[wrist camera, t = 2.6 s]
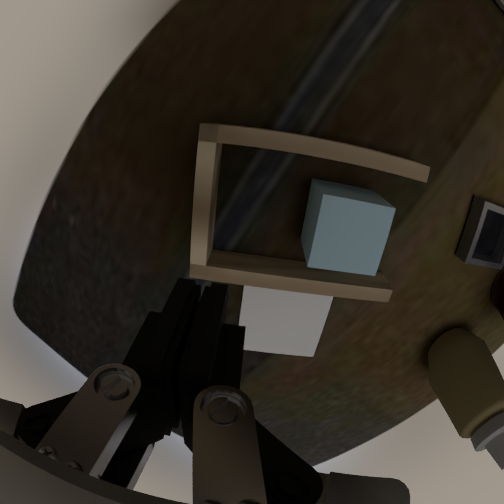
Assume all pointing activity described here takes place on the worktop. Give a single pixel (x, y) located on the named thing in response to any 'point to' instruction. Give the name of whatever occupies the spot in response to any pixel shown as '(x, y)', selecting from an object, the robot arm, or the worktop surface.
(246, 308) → the mat
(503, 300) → the coffee cup
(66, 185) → the worktop surface
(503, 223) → the tray
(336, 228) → the blue block
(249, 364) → the worktop surface
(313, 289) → the cubby
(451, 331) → the squeeze bottle
